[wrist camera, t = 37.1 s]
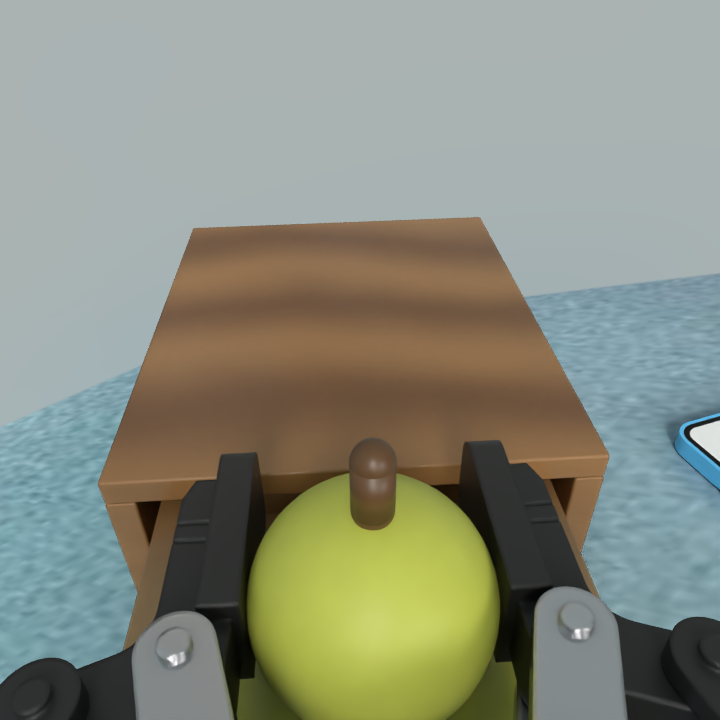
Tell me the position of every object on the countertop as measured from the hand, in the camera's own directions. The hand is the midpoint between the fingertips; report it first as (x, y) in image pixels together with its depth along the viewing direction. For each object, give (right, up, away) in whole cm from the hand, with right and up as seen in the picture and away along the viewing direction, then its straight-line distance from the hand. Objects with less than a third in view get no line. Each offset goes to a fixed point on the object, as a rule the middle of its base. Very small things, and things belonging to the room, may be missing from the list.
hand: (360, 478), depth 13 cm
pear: (0, -7, +1) cm, 7 cm away
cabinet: (0, -3, +14) cm, 14 cm away
